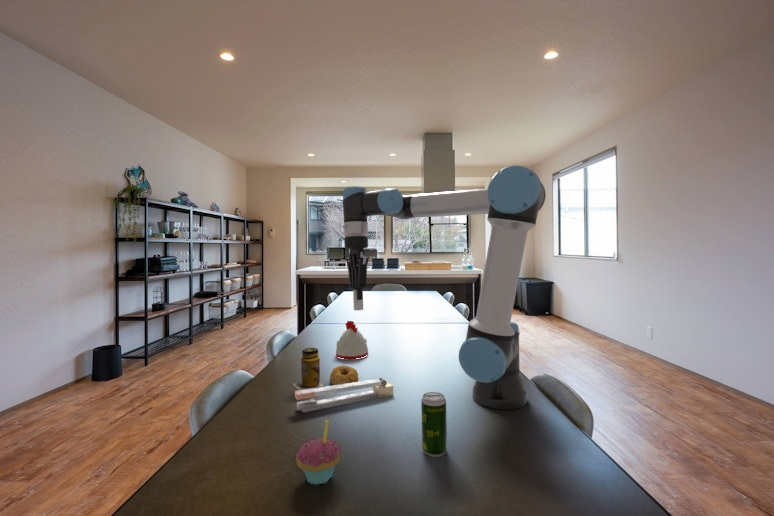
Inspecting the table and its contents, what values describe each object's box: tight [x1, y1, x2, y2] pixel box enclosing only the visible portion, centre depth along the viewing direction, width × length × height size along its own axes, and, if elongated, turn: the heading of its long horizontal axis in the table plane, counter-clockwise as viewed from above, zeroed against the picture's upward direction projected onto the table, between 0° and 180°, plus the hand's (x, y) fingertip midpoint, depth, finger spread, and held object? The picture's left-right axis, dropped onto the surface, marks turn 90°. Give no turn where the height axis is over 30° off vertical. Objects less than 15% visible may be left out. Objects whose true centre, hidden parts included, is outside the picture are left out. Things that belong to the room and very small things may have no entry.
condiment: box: [292, 347, 325, 391], centre depth 118 cm, size 7×8×12 cm
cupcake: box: [295, 415, 342, 484], centre depth 68 cm, size 9×8×12 cm
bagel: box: [329, 365, 359, 386], centre depth 121 cm, size 10×11×5 cm
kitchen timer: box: [335, 320, 369, 359], centre depth 153 cm, size 14×14×15 cm
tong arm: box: [294, 377, 388, 401], centre depth 104 cm, size 3×27×2 cm, turn 115°
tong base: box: [296, 381, 394, 413], centre depth 104 cm, size 4×28×3 cm, turn 115°
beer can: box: [420, 391, 448, 458], centre depth 77 cm, size 5×5×12 cm
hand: (358, 309), depth 112 cm, fingers closed
